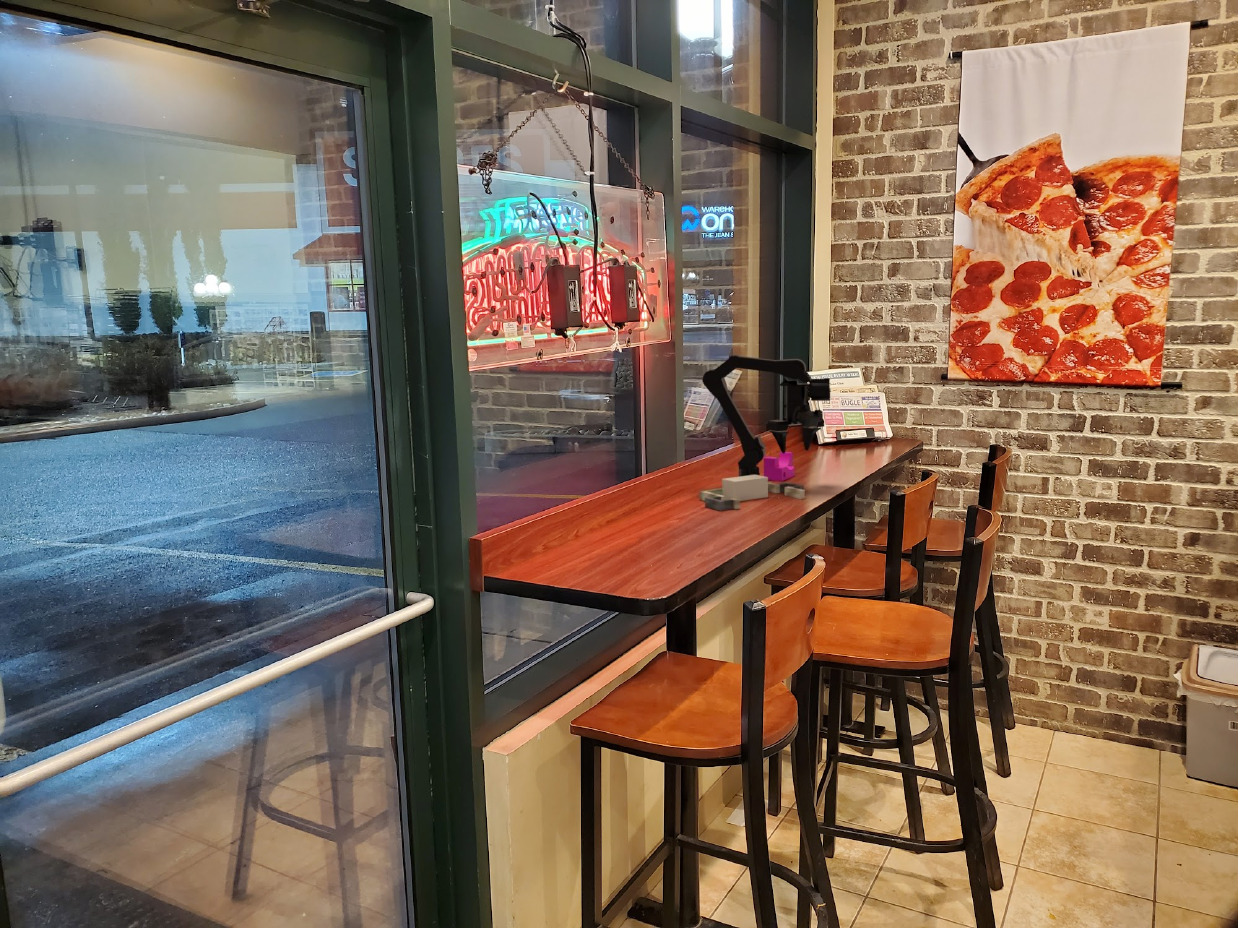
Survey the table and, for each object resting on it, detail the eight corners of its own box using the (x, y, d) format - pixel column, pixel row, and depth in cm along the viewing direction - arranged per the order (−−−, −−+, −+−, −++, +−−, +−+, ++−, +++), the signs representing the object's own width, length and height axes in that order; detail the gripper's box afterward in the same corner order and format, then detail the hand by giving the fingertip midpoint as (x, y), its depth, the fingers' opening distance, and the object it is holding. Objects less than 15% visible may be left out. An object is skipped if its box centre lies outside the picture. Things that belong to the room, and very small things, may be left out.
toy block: (781, 482, 297) (781, 459, 295) (763, 481, 300) (763, 457, 299) (799, 475, 309) (799, 452, 308) (782, 473, 312) (782, 451, 311)
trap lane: (686, 501, 269) (686, 492, 269) (778, 488, 286) (778, 480, 285) (722, 511, 254) (722, 502, 254) (816, 496, 271) (816, 488, 271)
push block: (722, 499, 272) (722, 478, 271) (755, 494, 278) (755, 474, 277) (734, 502, 267) (734, 481, 266) (767, 497, 273) (767, 477, 272)
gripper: (789, 404, 271) (789, 458, 273) (837, 400, 280) (836, 452, 283) (764, 402, 280) (764, 453, 283) (812, 398, 290) (811, 448, 292)
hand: (795, 451), depth 285 cm, fingers open, 9 cm apart
